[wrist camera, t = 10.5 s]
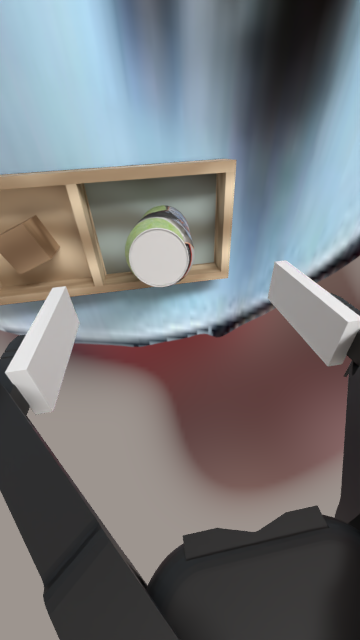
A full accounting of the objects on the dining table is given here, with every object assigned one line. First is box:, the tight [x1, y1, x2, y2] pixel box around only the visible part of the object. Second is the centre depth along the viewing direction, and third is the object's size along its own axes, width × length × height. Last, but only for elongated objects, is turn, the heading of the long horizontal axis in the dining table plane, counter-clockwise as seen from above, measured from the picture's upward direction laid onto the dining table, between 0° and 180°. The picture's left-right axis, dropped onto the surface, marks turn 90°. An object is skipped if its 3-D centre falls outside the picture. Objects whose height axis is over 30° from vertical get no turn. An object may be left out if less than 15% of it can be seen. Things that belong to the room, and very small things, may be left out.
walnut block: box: [0, 215, 60, 274], centre depth 27 cm, size 4×4×4 cm
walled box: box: [0, 159, 236, 305], centre depth 28 cm, size 13×30×4 cm, turn 93°
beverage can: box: [125, 205, 194, 287], centre depth 25 cm, size 6×7×12 cm
